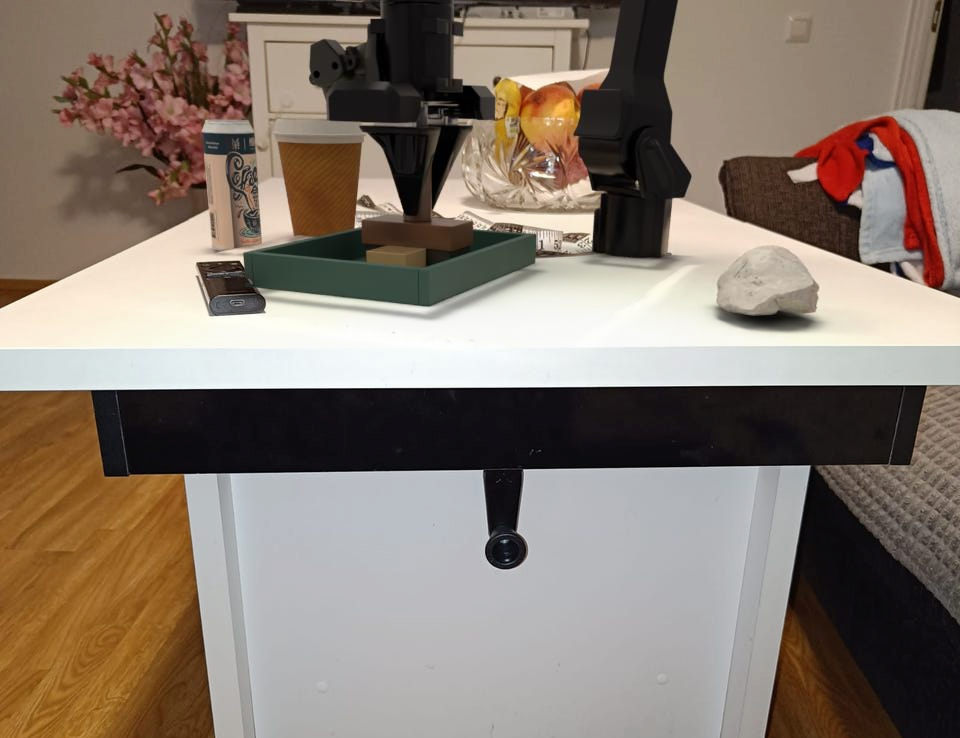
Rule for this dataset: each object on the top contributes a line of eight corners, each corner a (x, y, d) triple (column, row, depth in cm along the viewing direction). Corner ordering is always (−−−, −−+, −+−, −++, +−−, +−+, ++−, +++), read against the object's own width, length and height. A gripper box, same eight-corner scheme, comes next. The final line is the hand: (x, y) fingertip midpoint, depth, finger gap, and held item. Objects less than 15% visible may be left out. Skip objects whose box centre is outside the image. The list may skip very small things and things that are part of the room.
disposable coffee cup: (386, 238, 101) (384, 120, 96) (328, 249, 94) (323, 121, 89) (320, 231, 106) (315, 118, 101) (259, 240, 98) (251, 118, 94)
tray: (535, 271, 84) (536, 233, 83) (428, 317, 65) (428, 270, 64) (383, 257, 89) (382, 222, 88) (245, 296, 71) (242, 252, 70)
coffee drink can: (249, 255, 89) (239, 121, 84) (203, 253, 90) (191, 120, 85) (270, 248, 93) (261, 120, 89) (225, 246, 94) (215, 119, 89)
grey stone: (846, 322, 66) (858, 251, 65) (768, 334, 62) (779, 259, 61) (755, 300, 73) (763, 235, 71) (679, 310, 69) (686, 241, 67)
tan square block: (426, 273, 77) (426, 248, 76) (406, 279, 74) (405, 254, 73) (388, 269, 79) (387, 245, 78) (366, 275, 75) (366, 250, 75)
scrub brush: (472, 262, 80) (474, 158, 77) (451, 270, 76) (452, 161, 73) (387, 254, 83) (385, 154, 80) (362, 261, 79) (359, 156, 76)
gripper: (384, 17, 83) (388, 198, 89) (258, -4, 67) (273, 219, 73) (500, 15, 79) (495, 206, 85) (394, -7, 63) (398, 229, 69)
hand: (418, 213), depth 78 cm, fingers closed on scrub brush, 2 cm apart
